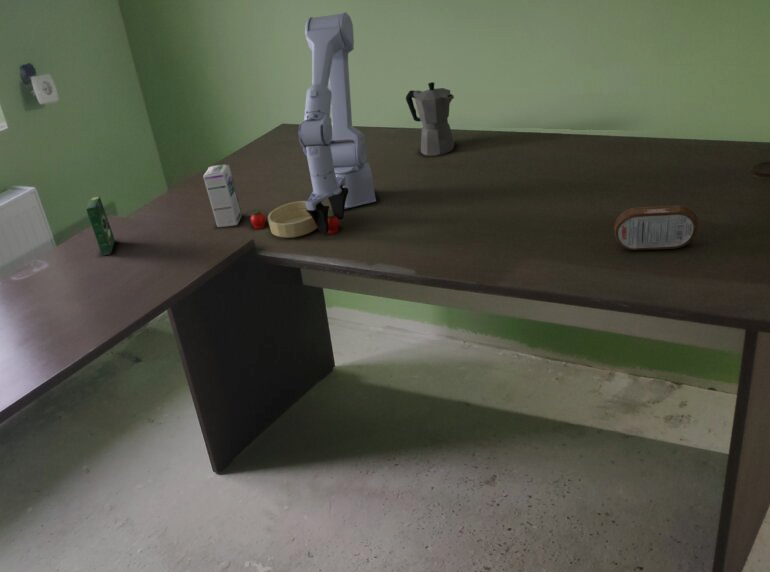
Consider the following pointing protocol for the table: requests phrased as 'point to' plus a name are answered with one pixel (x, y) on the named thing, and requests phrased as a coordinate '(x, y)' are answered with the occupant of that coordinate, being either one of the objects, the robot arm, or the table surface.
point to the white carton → (222, 195)
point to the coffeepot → (433, 119)
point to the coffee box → (100, 225)
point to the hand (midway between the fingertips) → (331, 225)
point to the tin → (656, 227)
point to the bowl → (291, 220)
